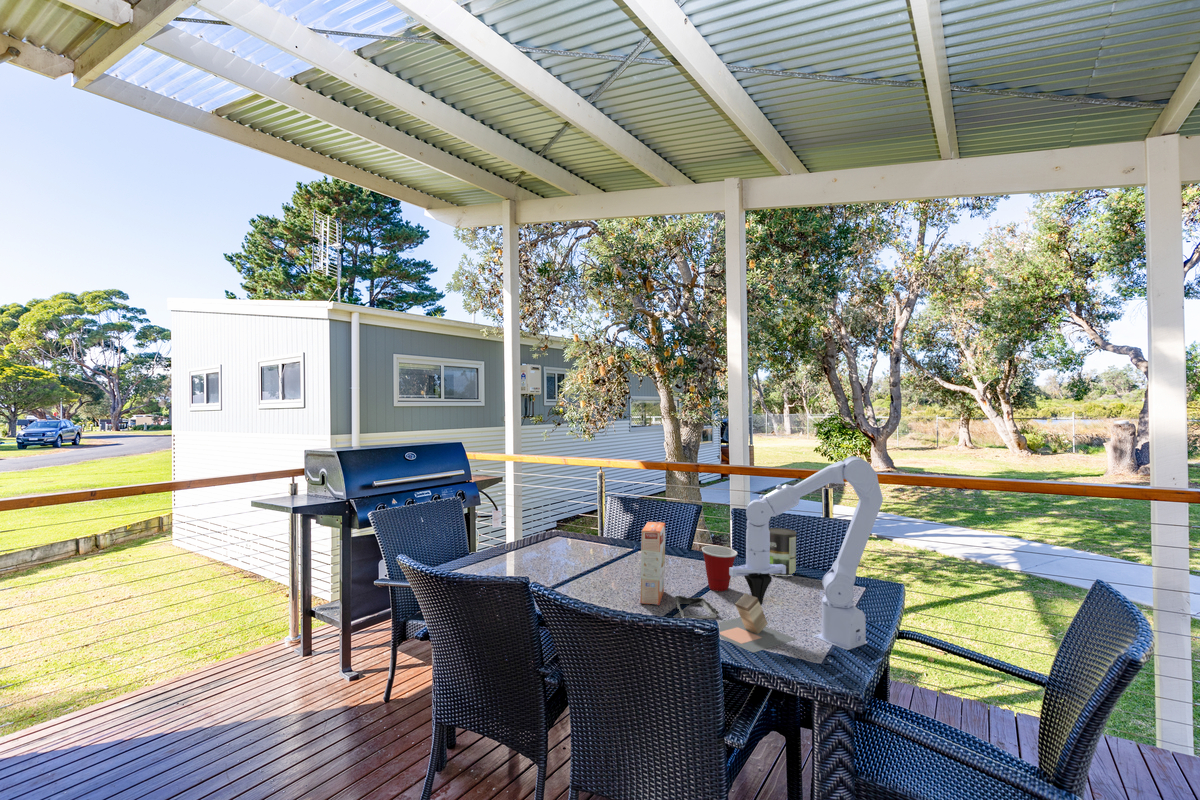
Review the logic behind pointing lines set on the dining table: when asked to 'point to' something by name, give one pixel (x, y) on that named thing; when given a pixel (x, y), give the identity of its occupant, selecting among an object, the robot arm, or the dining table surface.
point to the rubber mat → (751, 636)
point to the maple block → (751, 613)
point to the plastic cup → (718, 566)
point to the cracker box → (652, 563)
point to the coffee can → (783, 549)
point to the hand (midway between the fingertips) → (757, 603)
